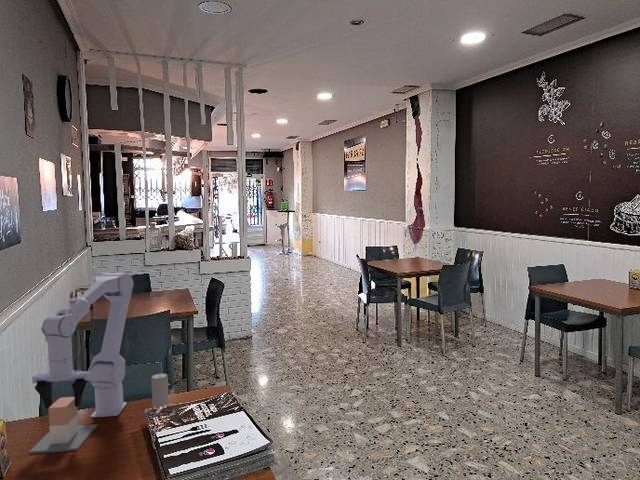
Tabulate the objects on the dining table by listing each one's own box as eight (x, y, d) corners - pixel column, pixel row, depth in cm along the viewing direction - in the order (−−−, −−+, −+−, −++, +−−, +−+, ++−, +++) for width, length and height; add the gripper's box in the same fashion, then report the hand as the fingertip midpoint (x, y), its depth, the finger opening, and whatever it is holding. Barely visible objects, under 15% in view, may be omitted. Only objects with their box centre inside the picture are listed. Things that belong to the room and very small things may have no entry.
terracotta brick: (61, 414, 131) (60, 397, 131) (77, 413, 132) (76, 396, 132) (49, 426, 124) (48, 407, 124) (67, 424, 125) (66, 406, 125)
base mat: (53, 429, 135) (53, 427, 135) (96, 426, 136) (96, 424, 136) (29, 453, 121) (29, 451, 121) (77, 450, 122) (77, 448, 122)
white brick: (62, 431, 132) (61, 414, 131) (78, 430, 132) (77, 413, 132) (50, 444, 125) (49, 426, 124) (68, 442, 125) (67, 424, 125)
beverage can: (163, 417, 141) (162, 378, 140) (149, 416, 142) (148, 378, 141) (172, 410, 146) (170, 373, 145) (158, 409, 147) (156, 372, 146)
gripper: (25, 364, 122) (28, 414, 123) (82, 361, 124) (85, 410, 125) (38, 356, 129) (41, 403, 130) (92, 353, 131) (94, 400, 132)
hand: (63, 406), depth 128 cm, fingers open, 7 cm apart
